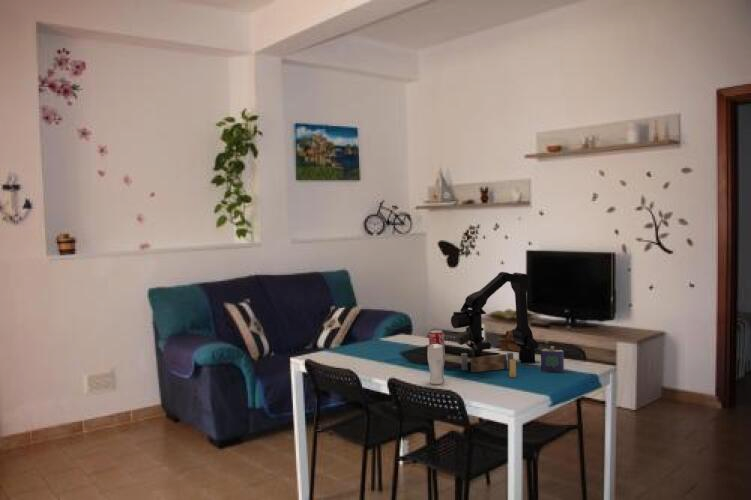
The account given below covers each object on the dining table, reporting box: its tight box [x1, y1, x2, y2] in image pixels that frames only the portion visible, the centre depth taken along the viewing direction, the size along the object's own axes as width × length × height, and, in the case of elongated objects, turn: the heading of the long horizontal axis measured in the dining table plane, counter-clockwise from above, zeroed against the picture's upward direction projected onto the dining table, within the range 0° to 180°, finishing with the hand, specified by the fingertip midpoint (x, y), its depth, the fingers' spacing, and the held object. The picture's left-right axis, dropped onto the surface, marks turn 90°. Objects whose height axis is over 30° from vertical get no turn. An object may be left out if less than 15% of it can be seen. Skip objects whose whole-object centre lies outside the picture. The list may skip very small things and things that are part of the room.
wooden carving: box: [497, 329, 520, 352], centre depth 296 cm, size 16×5×10 cm, turn 76°
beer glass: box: [426, 344, 446, 386], centre depth 252 cm, size 7×7×15 cm
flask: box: [540, 345, 565, 373], centre depth 261 cm, size 9×3×11 cm, turn 74°
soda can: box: [428, 329, 446, 352], centre depth 292 cm, size 7×7×12 cm
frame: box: [460, 352, 517, 378], centre depth 262 cm, size 22×13×7 cm, turn 84°
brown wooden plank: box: [470, 353, 508, 373], centre depth 265 cm, size 16×2×6 cm, turn 102°
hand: (475, 361), depth 266 cm, fingers closed
